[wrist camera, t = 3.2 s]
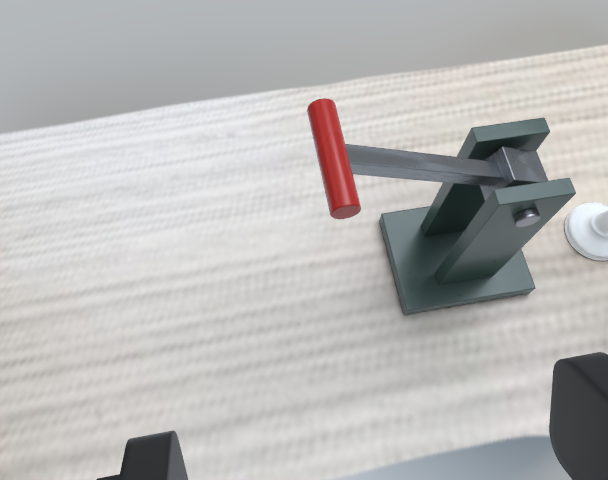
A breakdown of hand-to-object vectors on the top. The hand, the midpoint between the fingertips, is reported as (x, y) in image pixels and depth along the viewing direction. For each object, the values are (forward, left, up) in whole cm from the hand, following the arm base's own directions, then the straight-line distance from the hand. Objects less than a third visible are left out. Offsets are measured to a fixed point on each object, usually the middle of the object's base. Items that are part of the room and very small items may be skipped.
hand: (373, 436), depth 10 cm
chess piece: (+26, +13, -31) cm, 42 cm away
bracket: (+14, +13, -30) cm, 36 cm away
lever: (+8, +13, -17) cm, 23 cm away
